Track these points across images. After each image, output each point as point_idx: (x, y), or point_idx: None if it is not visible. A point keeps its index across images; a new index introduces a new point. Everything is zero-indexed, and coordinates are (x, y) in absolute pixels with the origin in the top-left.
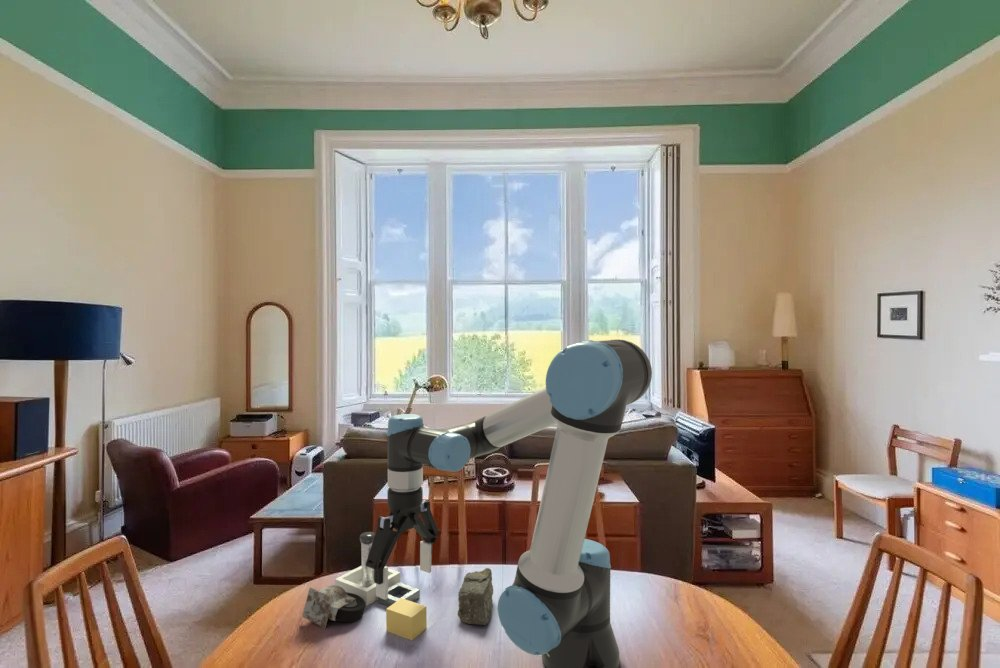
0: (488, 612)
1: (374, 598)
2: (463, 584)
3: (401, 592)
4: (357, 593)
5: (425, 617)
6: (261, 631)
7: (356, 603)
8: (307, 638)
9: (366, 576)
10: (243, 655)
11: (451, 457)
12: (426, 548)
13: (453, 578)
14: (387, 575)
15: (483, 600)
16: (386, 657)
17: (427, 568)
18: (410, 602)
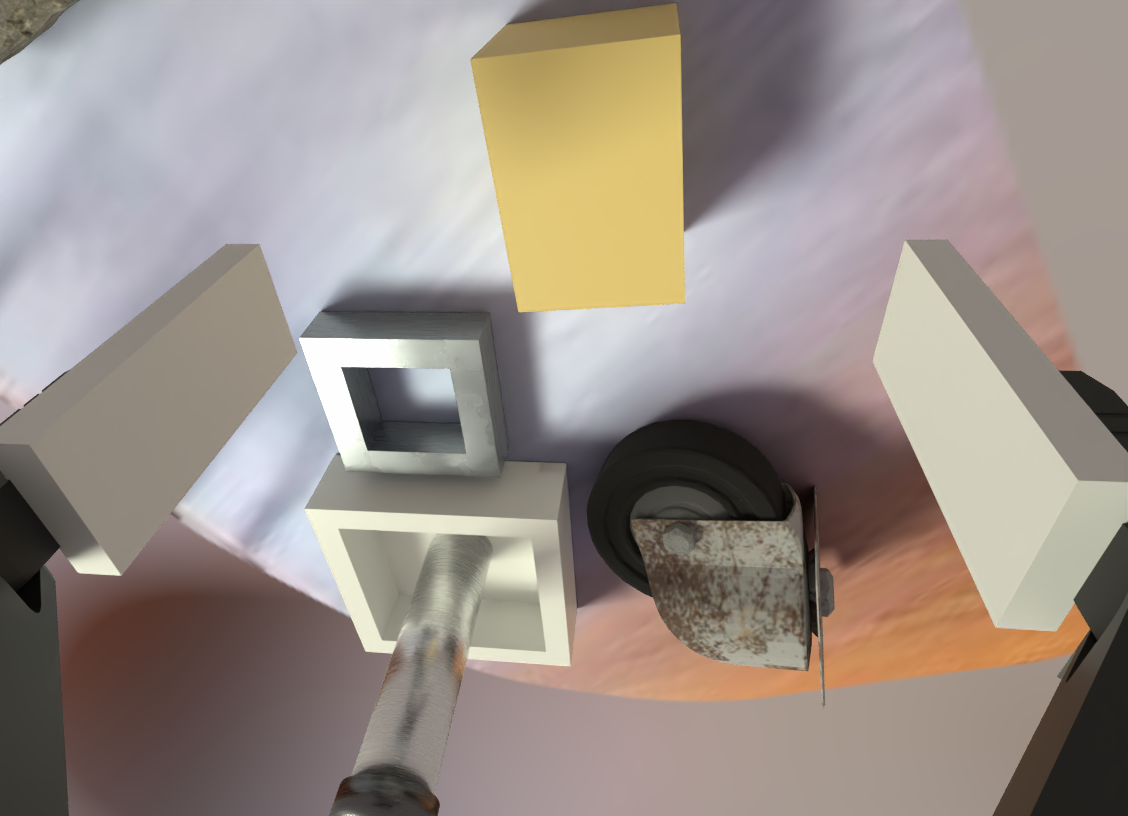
0: None
1: (512, 472)
2: (3, 16)
3: (373, 412)
4: (565, 545)
5: (501, 40)
6: (939, 635)
7: (650, 495)
8: (918, 492)
9: (471, 594)
10: None
11: None
12: (109, 440)
13: (41, 290)
14: (1025, 390)
15: None
16: (931, 7)
17: (245, 285)
18: (516, 217)
